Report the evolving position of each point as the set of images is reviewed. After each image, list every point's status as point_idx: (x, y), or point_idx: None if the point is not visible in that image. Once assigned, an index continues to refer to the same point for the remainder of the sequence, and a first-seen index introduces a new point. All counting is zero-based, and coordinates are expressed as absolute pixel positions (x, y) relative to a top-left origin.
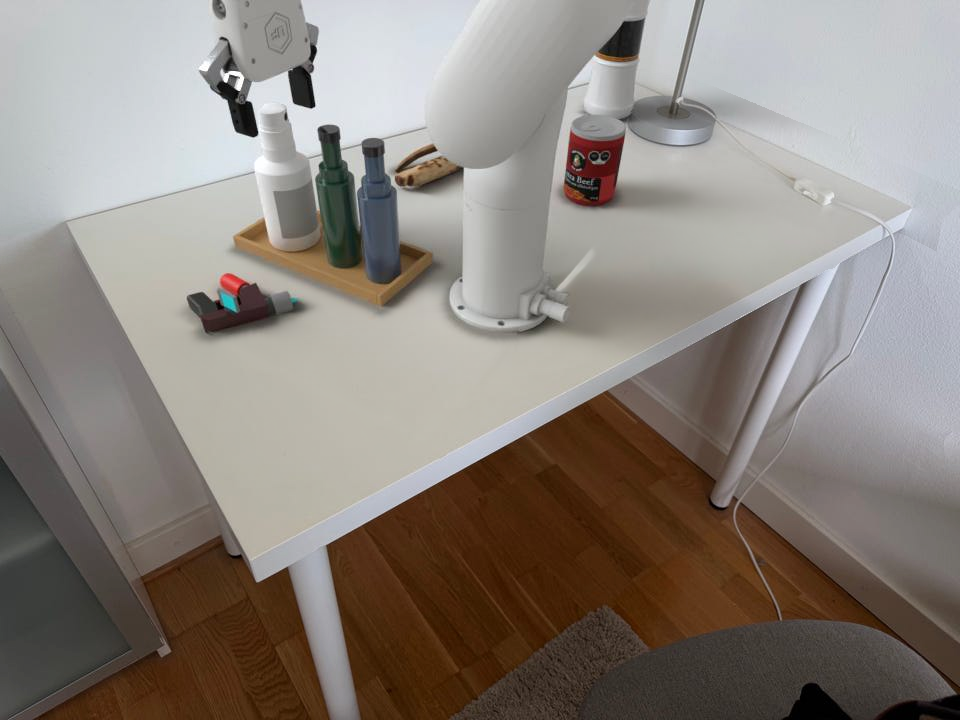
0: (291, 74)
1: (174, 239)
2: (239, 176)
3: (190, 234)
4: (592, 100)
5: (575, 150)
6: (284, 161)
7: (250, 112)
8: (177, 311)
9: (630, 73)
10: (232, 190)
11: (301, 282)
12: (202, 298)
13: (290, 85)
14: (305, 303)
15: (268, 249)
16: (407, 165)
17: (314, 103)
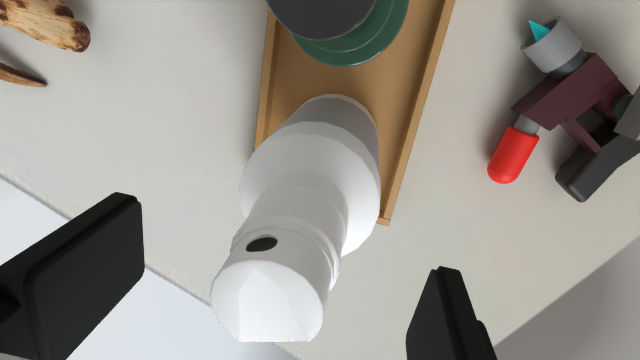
0: (52, 353)
1: (391, 301)
2: (206, 303)
3: (372, 289)
4: None
5: None
6: (333, 184)
7: (485, 349)
8: (572, 207)
9: None
10: None
11: (444, 62)
12: (591, 174)
13: (96, 322)
14: (507, 18)
15: (407, 151)
16: (16, 69)
17: (112, 198)
